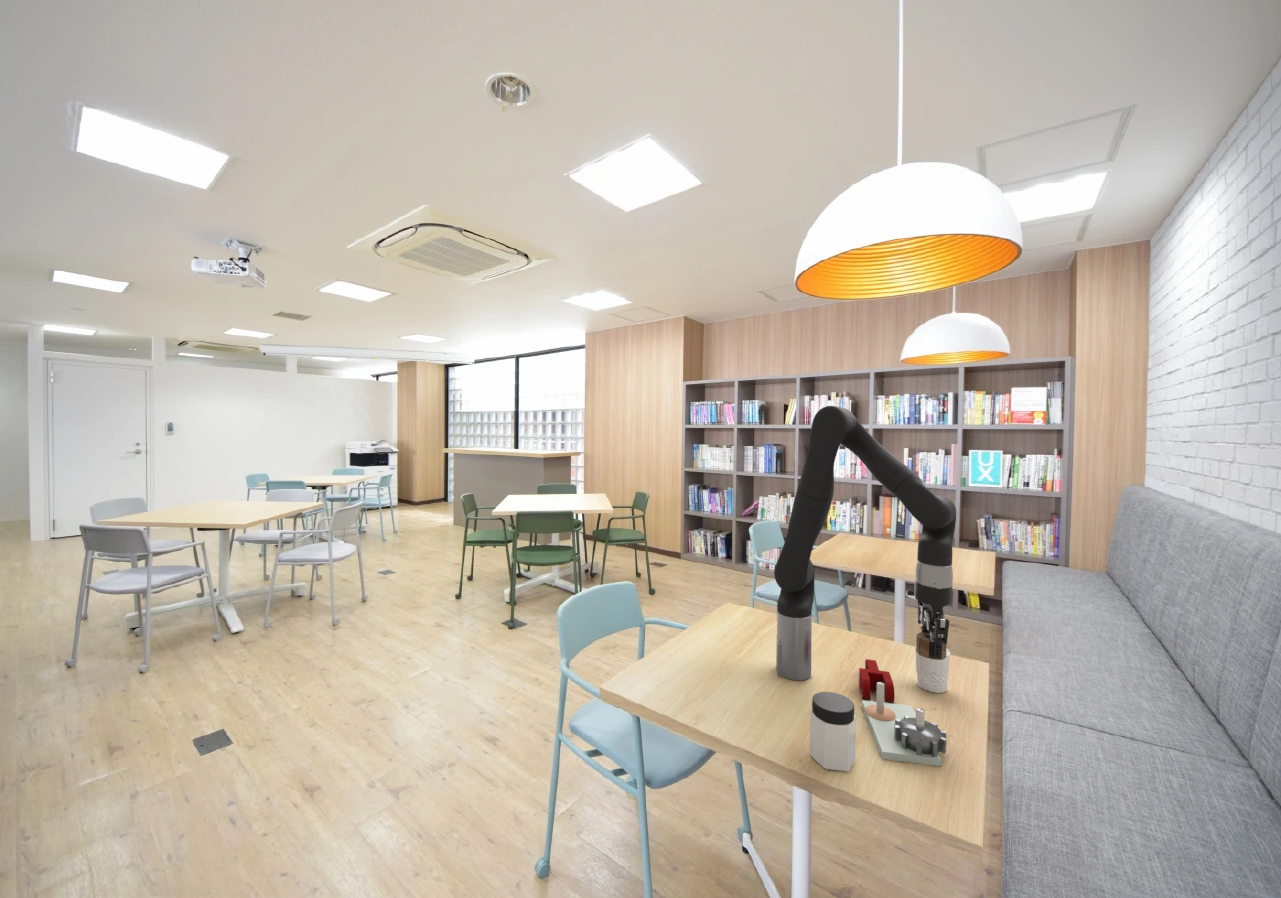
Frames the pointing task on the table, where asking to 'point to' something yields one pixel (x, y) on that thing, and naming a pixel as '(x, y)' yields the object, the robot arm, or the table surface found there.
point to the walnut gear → (927, 646)
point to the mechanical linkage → (875, 681)
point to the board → (892, 729)
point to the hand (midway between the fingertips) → (931, 651)
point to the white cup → (932, 673)
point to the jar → (833, 731)
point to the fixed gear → (920, 734)
